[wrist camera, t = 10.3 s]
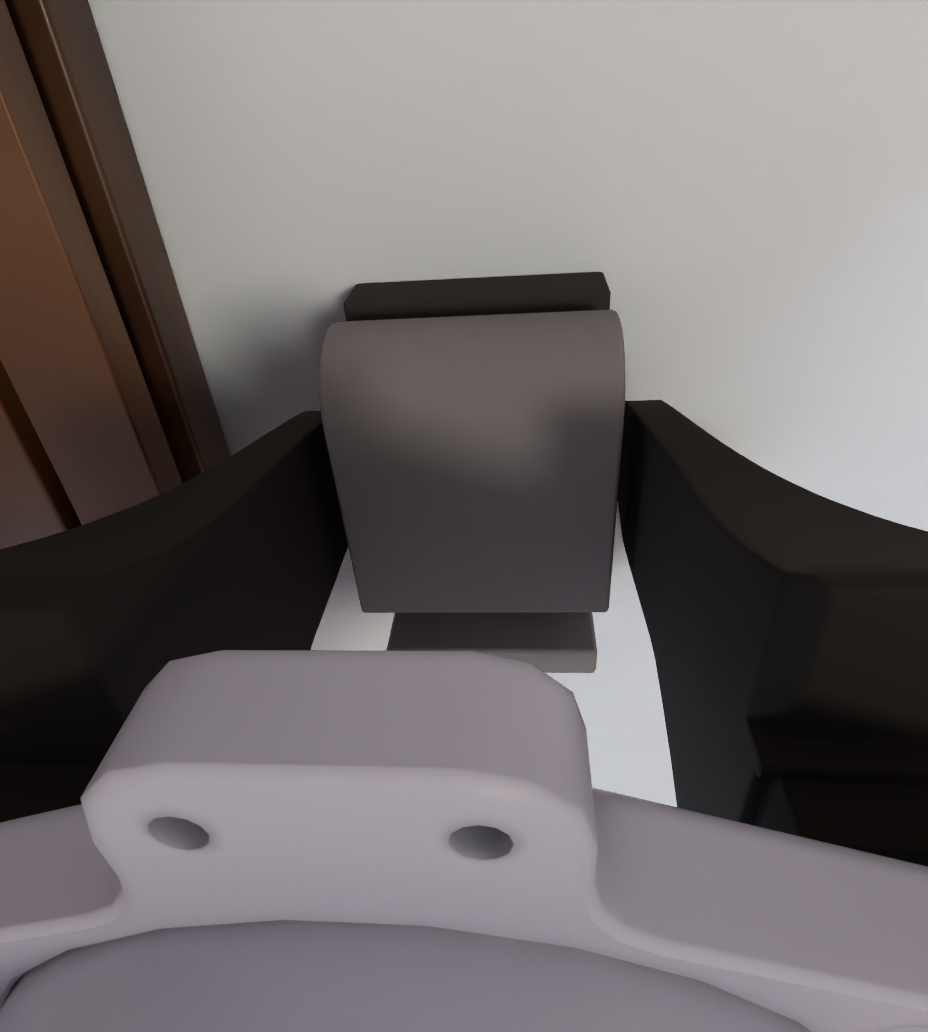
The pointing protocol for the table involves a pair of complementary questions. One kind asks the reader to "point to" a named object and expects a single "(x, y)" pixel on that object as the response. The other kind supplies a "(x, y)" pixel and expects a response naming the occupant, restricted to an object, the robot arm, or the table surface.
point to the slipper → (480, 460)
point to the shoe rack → (84, 295)
